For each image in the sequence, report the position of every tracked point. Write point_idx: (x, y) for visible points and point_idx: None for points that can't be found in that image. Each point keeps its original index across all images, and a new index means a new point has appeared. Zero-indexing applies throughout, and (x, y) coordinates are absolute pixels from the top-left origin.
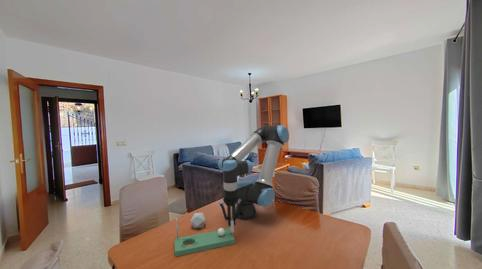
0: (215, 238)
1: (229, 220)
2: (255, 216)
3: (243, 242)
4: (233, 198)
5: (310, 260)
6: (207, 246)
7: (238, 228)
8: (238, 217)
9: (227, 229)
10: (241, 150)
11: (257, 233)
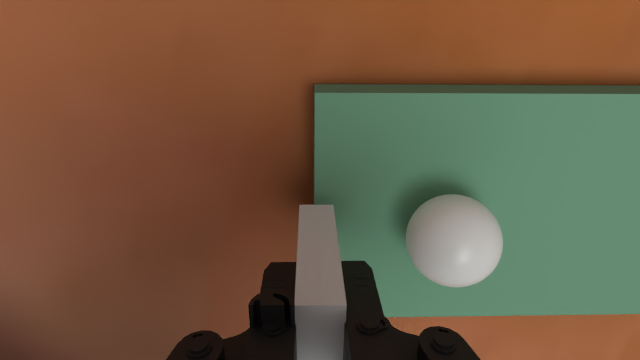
0: (517, 185)
1: (374, 318)
2: None
3: (221, 77)
4: None
5: None
6: (635, 90)
7: (213, 319)
8: (179, 342)
9: None
10: None
11: (34, 184)
